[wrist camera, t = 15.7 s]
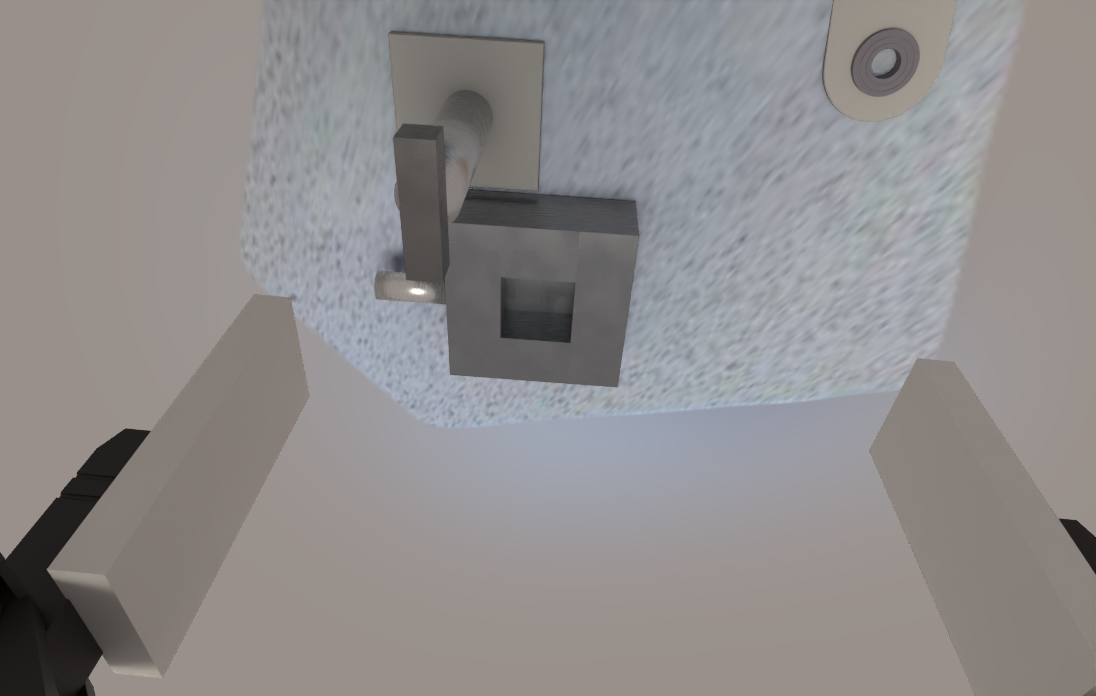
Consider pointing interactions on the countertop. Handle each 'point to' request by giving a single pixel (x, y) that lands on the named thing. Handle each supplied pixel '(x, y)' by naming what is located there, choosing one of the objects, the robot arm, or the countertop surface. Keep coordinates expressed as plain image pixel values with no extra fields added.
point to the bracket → (874, 25)
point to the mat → (493, 72)
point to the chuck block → (533, 287)
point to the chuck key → (437, 179)
